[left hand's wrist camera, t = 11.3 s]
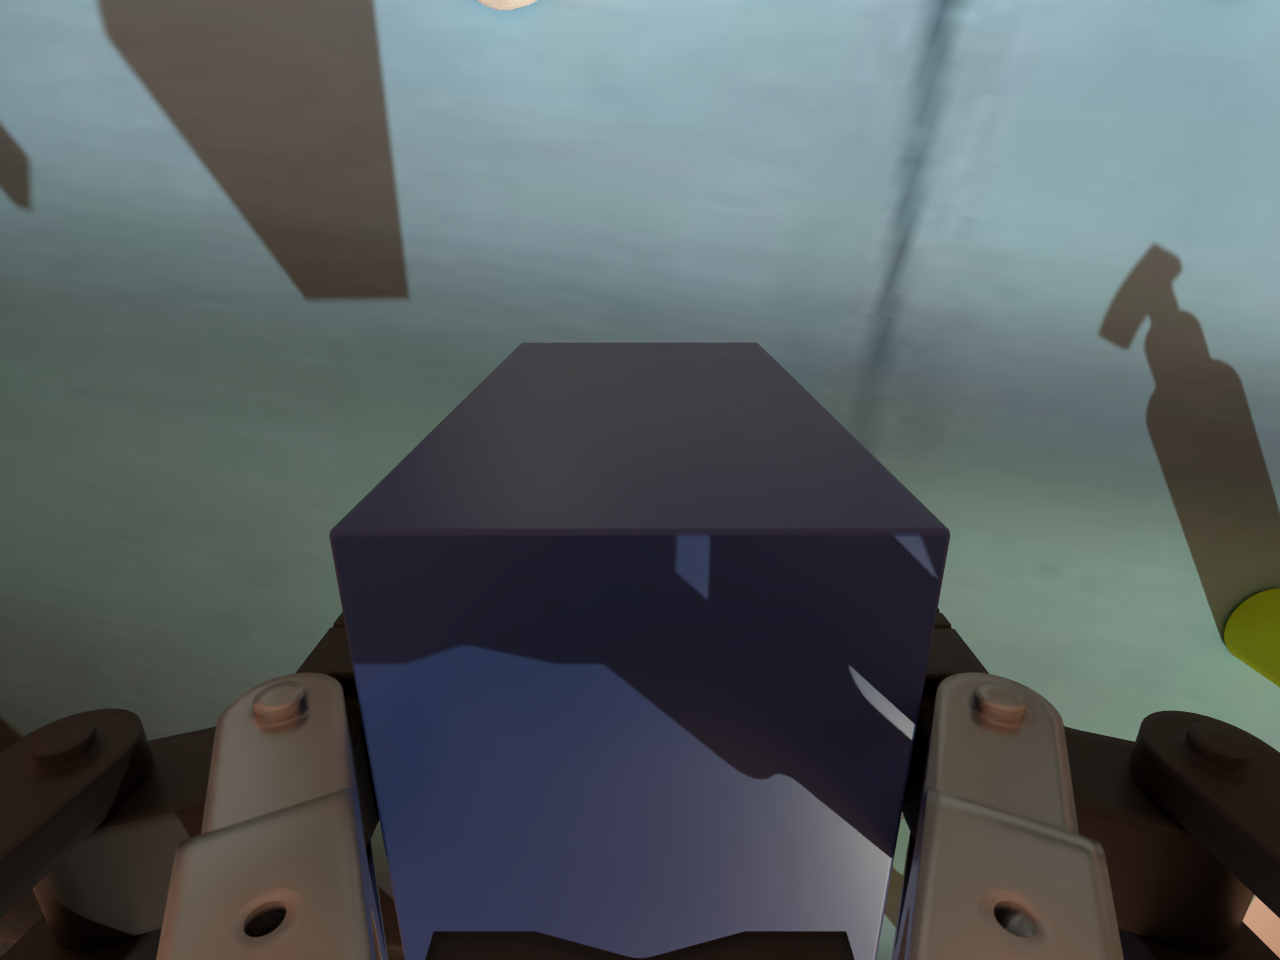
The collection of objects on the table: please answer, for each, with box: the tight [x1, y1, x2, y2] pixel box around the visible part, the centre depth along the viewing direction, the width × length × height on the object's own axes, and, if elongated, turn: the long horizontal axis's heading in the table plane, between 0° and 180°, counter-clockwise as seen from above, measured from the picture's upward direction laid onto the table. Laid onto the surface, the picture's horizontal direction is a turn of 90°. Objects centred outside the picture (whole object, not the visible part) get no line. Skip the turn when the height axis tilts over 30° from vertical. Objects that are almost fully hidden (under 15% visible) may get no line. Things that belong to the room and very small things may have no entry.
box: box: [330, 343, 950, 960], centre depth 17 cm, size 28×6×11 cm, turn 0°
